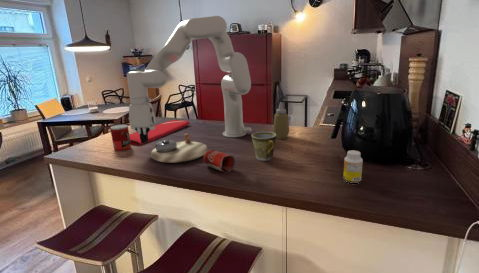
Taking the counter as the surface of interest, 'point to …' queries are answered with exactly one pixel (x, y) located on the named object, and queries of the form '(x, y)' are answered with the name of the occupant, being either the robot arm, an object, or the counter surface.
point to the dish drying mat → (159, 131)
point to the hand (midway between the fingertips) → (144, 142)
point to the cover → (166, 146)
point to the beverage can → (219, 160)
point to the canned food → (120, 137)
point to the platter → (181, 151)
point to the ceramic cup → (264, 145)
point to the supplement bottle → (353, 167)
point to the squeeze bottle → (281, 123)
